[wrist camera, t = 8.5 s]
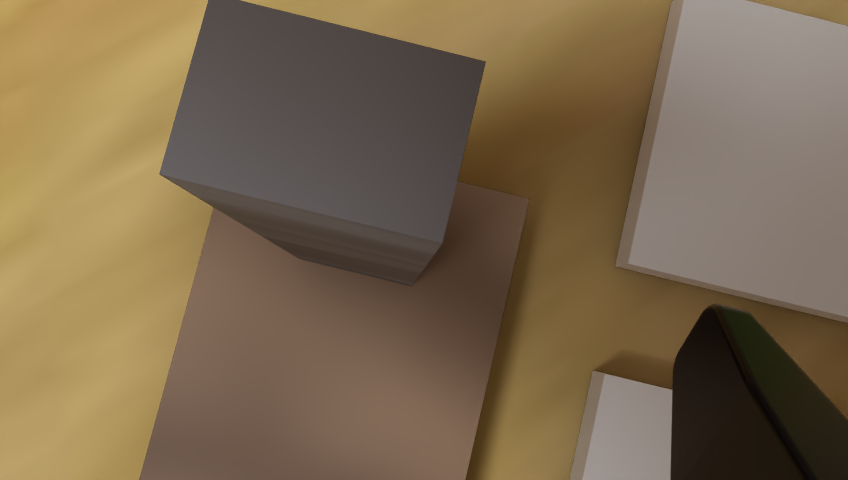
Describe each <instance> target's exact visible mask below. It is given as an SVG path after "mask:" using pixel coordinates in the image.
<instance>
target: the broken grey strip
mask: <svg viewBox="0 0 848 480" xmlns="http://www.w3.org/2000/svg"><path fill="white" fill-rule="evenodd" d="M615 266H616V267H620V268H624V269H628V270H632V271H636V272H640V273H644V274H649V275H653V276H657V277H661V278H665V279H669V280H673V281H677V282H681V283H685V284H689V285H694V286H698V287H702V288H706V289H710V290H714V291H718V292H722V293H726V294H730V295H734V296H739V297H743V298H747V299H751V300H755V301H759V302H763V303H767V304H771V305H775V306H779V307H784V308H788V309H792V310H796V311H800V312H804V313H808V314H812V315H816V316H820V317H824V318H829V319H833V320H837V321H841V322H845V323H848V26H846V25H842V24H838V23H834V22H830V21H826V20H822V19H818V18H814V17H811V16H807V15H803V14H799V13H795V12H791V11H787V10H783V9H779V8H775V7H771V6H767V5H763V4H759V3H755V2H751V1H747V0H673V2H672V3H671V7H670V11H669V16H668V21H667V25H666V30H665V35H664V39H663V44H662V49H661V53H660V58H659V63H658V67H657V72H656V77H655V82H654V86H653V91H652V96H651V100H650V105H649V110H648V114H647V119H646V124H645V128H644V133H643V138H642V142H641V147H640V152H639V156H638V161H637V166H636V170H635V175H634V180H633V185H632V189H631V194H630V199H629V203H628V208H627V213H626V217H625V222H624V227H623V231H622V236H621V241H620V245H619V250H618V255H617V259H616V264H615ZM671 426H672V389H667V388H663V387H659V386H655V385H651V384H647V383H643V382H638V381H634V380H630V379H626V378H622V377H618V376H614V375H609V374H605V373H601V372H597V371H593V372H592V377H591V381H590V386H589V391H588V395H587V400H586V405H585V409H584V414H583V419H582V423H581V428H580V433H579V437H578V442H577V447H576V451H575V456H574V461H573V466H572V470H571V475H570V480H670V469H671Z"/></svg>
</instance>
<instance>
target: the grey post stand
mask: <svg viewBox="0 0 848 480" xmlns="http://www.w3.org/2000/svg"><path fill="white" fill-rule="evenodd" d="M485 63H486V62H485V61H481V60H477V59H473V58H469V57H465V56H461V55H457V54H453V53H449V52H445V51H441V50H437V49H433V48H429V47H425V46H421V45H417V44H413V43H409V42H405V41H401V40H397V39H393V38H389V37H385V36H381V35H377V34H373V33H369V32H365V31H361V30H357V29H353V28H349V27H345V26H341V25H337V24H333V23H329V22H325V21H321V20H317V19H313V18H309V17H305V16H300V15H296V14H292V13H288V12H284V11H280V10H276V9H272V8H268V7H264V6H260V5H256V4H252V3H248V2H244V1H240V0H208V4H207V7H206V11H205V14H204V18H203V22H202V25H201V29H200V32H199V36H198V39H197V43H196V46H195V50H194V53H193V57H192V60H191V64H190V68H189V71H188V75H187V78H186V82H185V85H184V89H183V92H182V96H181V99H180V103H179V106H178V110H177V114H176V117H175V121H174V124H173V128H172V131H171V135H170V138H169V142H168V145H167V149H166V152H165V156H164V160H163V163H162V167H161V170H160V175H161V176H163V177H165V178H166V179H168V180H170V181H171V182H173V183H175V184H176V185H178V186H180V187H181V188H183V189H184V190H186V191H188V192H189V193H191V194H193V195H194V196H196V197H198V198H199V199H201V200H203V201H204V202H206V203H208V204H209V205H211V206H213V207H214V208H213V212H212V216H211V219H210V223H209V227H208V230H207V234H206V238H205V241H204V245H203V249H202V252H201V256H200V260H199V263H198V267H197V270H196V274H195V278H194V281H193V285H192V289H191V292H190V296H189V300H188V303H187V307H186V311H185V314H184V318H183V322H182V325H181V329H180V333H179V336H178V340H177V344H176V347H175V351H174V355H173V358H172V362H171V366H170V369H169V373H168V377H167V380H166V384H165V388H164V391H163V395H162V398H161V402H160V406H159V409H158V413H157V417H156V420H155V424H154V428H153V431H152V435H151V439H150V442H149V446H148V450H147V453H146V457H145V461H144V464H143V468H142V472H141V475H140V479H139V480H465V479H466V475H467V470H468V466H469V462H470V457H471V453H472V448H473V444H474V440H475V435H476V431H477V426H478V422H479V418H480V413H481V409H482V405H483V400H484V396H485V391H486V387H487V383H488V378H489V374H490V369H491V365H492V361H493V356H494V352H495V348H496V343H497V339H498V334H499V330H500V326H501V321H502V317H503V312H504V308H505V304H506V299H507V295H508V291H509V286H510V282H511V277H512V273H513V269H514V264H515V260H516V255H517V251H518V247H519V242H520V238H521V234H522V229H523V225H524V220H525V216H526V212H527V207H528V203H529V199H528V198H524V197H520V196H516V195H512V194H508V193H504V192H500V191H496V190H492V189H488V188H483V187H479V186H475V185H471V184H467V183H463V182H459V181H457V180H458V176H459V172H460V167H461V163H462V159H463V155H464V151H465V147H466V142H467V138H468V134H469V130H470V126H471V121H472V117H473V113H474V109H475V105H476V101H477V96H478V92H479V88H480V84H481V80H482V75H483V71H484V67H485Z"/></svg>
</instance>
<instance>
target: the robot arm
mask: <svg viewBox="0 0 848 480" xmlns="http://www.w3.org/2000/svg"><path fill="white" fill-rule="evenodd" d="M670 480H848V419H847V418H846V417H845V416H844V415H843V414H842V413H841V412H840V411H839V409H838V408H837V407H836V406H835V405H834V404H833V403H832V402H831V401H830V400H829V399H828V397H827V396H826V395H825V394H824V393H823V392H822V391H821V390H820V389H819V388H818V387H817V385H816V384H815V383H814V382H813V381H812V380H811V379H810V378H809V377H808V376H807V374H806V373H805V372H804V371H803V370H802V369H801V368H800V367H799V366H798V365H797V364H796V362H795V361H794V360H793V359H792V358H791V357H790V356H789V355H788V354H787V353H786V352H785V350H784V349H783V348H782V347H781V346H780V345H779V344H778V343H777V342H776V341H775V340H774V338H773V337H772V336H771V335H770V334H769V333H768V332H767V331H766V330H765V329H764V328H763V326H762V325H761V324H760V323H759V322H758V321H757V320H756V319H755V318H754V317H753V316H752V315H751V314H750V313H748V312H746V311H744V310H740V309H736V308H732V307H728V306H723V305H719V304H713V305H710V306H708V307H707V308H706V309H705V310H704V311H703V313H702V314H701V316H700V317H699V319H698V321H697V322H696V324H695V325H694V327H693V329H692V330H691V332H690V334H689V335H688V337H687V339H686V340H685V342H684V343H683V345H682V347H681V348H680V350H679V352H678V354H677V356H676V359H675V363H674V367H673V384H672V426H671V469H670Z"/></svg>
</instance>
